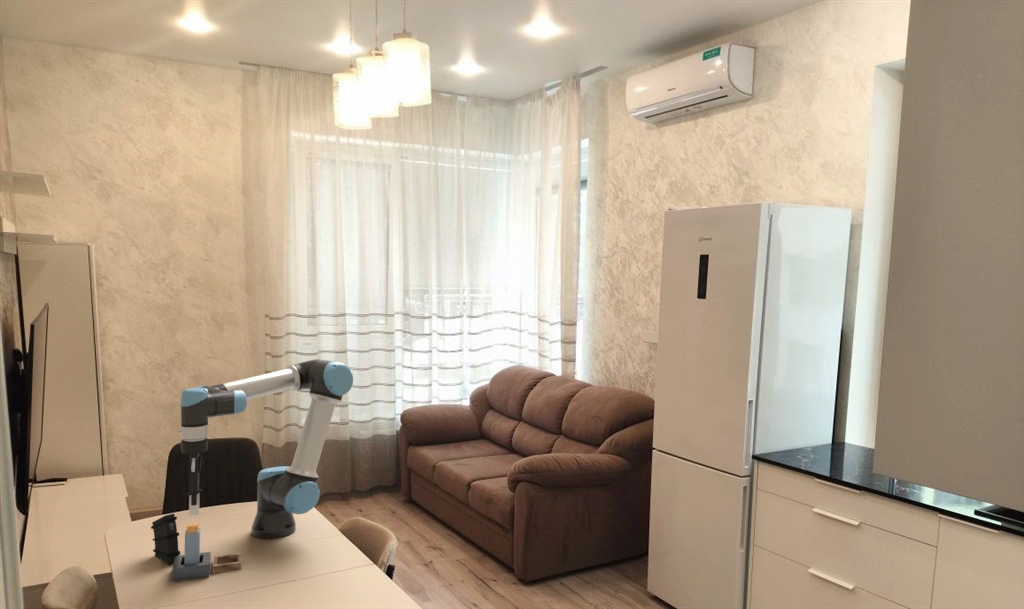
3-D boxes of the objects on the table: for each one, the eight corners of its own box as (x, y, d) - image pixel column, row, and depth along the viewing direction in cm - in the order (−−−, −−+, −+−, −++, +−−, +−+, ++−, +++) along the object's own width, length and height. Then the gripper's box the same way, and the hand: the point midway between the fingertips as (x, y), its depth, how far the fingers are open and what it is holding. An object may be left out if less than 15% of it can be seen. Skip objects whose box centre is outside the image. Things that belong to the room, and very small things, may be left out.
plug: (199, 569, 200) (200, 521, 200) (198, 574, 197) (199, 526, 196) (185, 571, 199) (186, 523, 198) (184, 576, 195) (185, 527, 195)
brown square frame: (241, 558, 209) (241, 552, 209) (241, 568, 201) (241, 562, 201) (214, 562, 205) (214, 556, 205) (213, 572, 198) (213, 566, 198)
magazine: (172, 563, 200) (163, 515, 204) (155, 570, 208) (148, 524, 211) (184, 559, 203) (176, 512, 207) (168, 566, 211) (160, 521, 214)
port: (210, 564, 204) (210, 551, 204) (209, 577, 195) (209, 564, 195) (175, 568, 200) (175, 555, 200) (172, 582, 191) (172, 568, 191)
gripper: (182, 434, 201) (182, 508, 202) (178, 444, 190) (178, 523, 190) (208, 433, 204) (208, 506, 205) (206, 442, 192) (206, 520, 193)
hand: (194, 514), depth 198 cm, fingers closed
